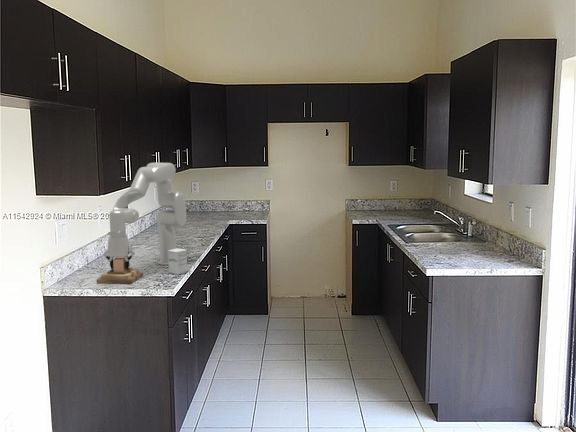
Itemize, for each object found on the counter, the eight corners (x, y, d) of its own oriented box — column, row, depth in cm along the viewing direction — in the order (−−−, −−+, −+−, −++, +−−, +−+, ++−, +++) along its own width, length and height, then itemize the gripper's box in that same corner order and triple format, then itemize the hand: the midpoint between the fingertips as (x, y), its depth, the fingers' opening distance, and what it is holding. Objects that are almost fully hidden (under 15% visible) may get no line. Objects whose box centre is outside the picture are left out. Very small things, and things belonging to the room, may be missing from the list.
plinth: (110, 275, 283) (110, 266, 282) (143, 276, 281) (142, 266, 280) (96, 283, 267) (96, 273, 266) (130, 284, 265) (130, 274, 264)
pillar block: (116, 270, 276) (116, 257, 275) (126, 270, 276) (125, 257, 275) (113, 273, 271) (113, 259, 270) (123, 272, 271) (122, 259, 270)
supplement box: (168, 272, 288) (167, 250, 286) (178, 270, 294) (177, 247, 292) (178, 274, 284) (177, 251, 282) (187, 271, 290) (187, 249, 288)
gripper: (98, 236, 267) (100, 270, 269) (133, 235, 267) (134, 270, 270) (103, 233, 274) (105, 267, 277) (137, 233, 275) (138, 266, 277)
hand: (119, 268), depth 273 cm, fingers open, 6 cm apart
